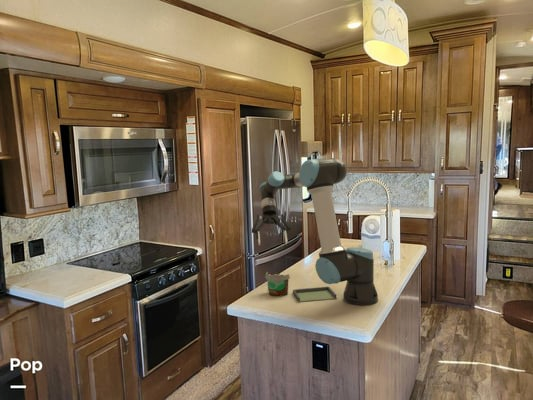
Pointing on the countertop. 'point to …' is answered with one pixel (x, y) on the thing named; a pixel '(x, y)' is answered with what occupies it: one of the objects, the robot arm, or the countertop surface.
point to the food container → (277, 284)
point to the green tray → (314, 294)
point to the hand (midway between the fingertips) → (273, 243)
